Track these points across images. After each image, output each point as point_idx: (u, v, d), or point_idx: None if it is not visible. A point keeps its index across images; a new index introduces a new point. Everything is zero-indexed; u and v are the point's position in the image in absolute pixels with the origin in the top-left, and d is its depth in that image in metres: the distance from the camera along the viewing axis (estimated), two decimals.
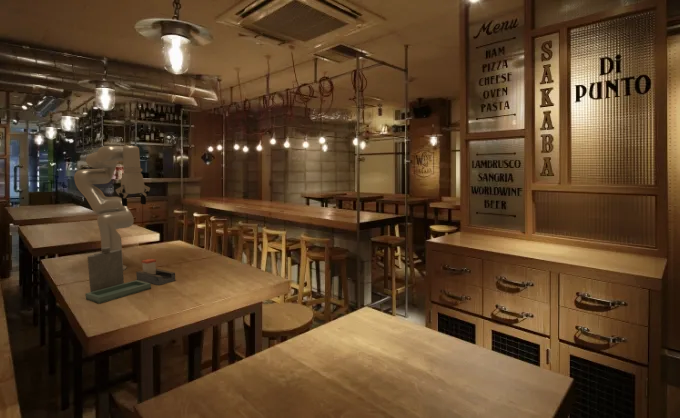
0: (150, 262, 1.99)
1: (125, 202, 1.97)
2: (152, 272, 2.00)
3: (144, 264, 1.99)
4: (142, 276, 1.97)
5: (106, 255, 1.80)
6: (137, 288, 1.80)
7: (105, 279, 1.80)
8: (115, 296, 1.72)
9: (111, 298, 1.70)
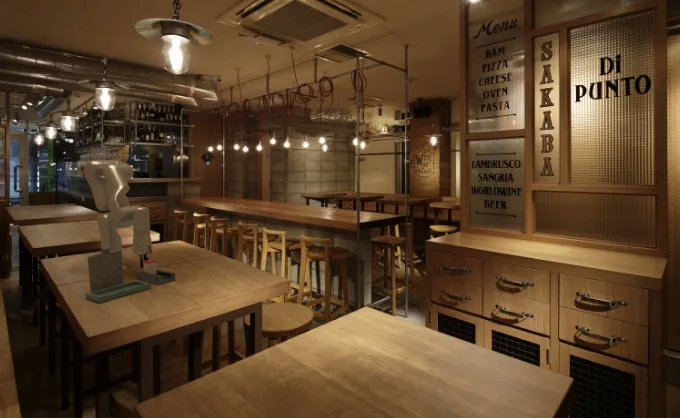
0: (151, 262, 1.99)
1: None
2: (153, 272, 2.00)
3: (145, 264, 1.99)
4: (142, 276, 1.97)
5: (106, 255, 1.80)
6: (137, 288, 1.80)
7: (105, 279, 1.80)
8: (115, 296, 1.72)
9: (111, 298, 1.70)
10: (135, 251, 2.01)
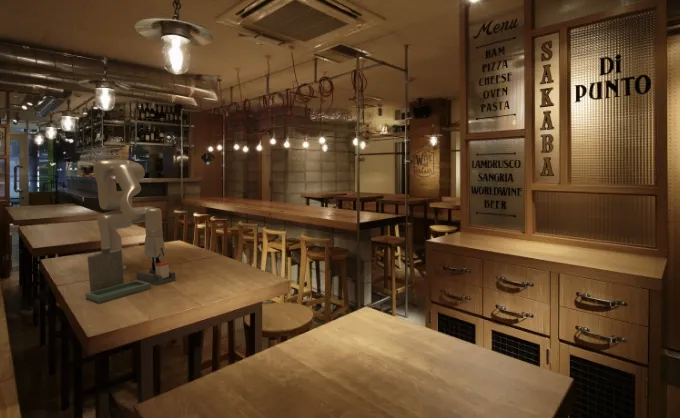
0: (163, 265, 1.93)
1: None
2: (165, 275, 1.95)
3: (157, 267, 1.93)
4: (142, 276, 1.97)
5: (106, 255, 1.80)
6: (137, 288, 1.80)
7: (105, 279, 1.80)
8: (115, 296, 1.72)
9: (111, 298, 1.70)
10: (147, 253, 1.95)
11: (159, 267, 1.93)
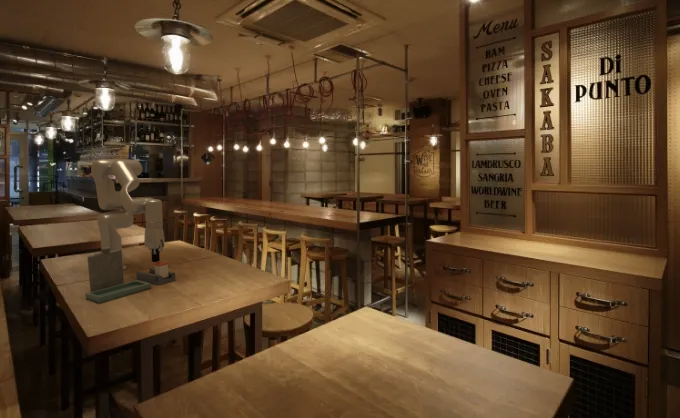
0: (163, 265, 1.94)
1: (158, 257, 1.98)
2: (165, 275, 1.95)
3: (156, 267, 1.94)
4: (142, 276, 1.97)
5: (106, 255, 1.80)
6: (137, 288, 1.80)
7: (105, 279, 1.80)
8: (115, 296, 1.72)
9: (111, 298, 1.70)
10: (147, 245, 1.95)
11: (158, 267, 1.93)
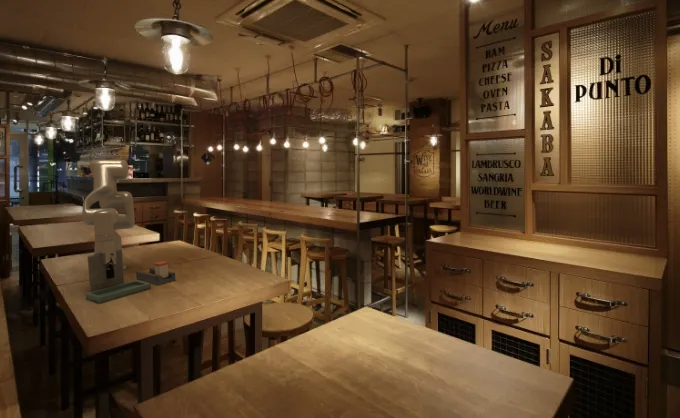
0: (163, 265, 1.94)
1: (113, 273, 1.82)
2: (165, 275, 1.95)
3: (156, 267, 1.94)
4: (142, 276, 1.97)
5: None
6: (137, 288, 1.80)
7: (105, 279, 1.80)
8: (115, 296, 1.72)
9: (111, 298, 1.70)
10: None
11: (158, 267, 1.93)
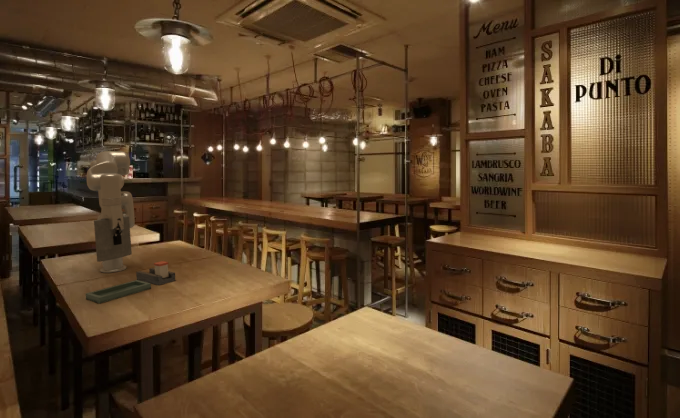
0: (163, 265, 1.94)
1: None
2: (165, 275, 1.95)
3: (156, 267, 1.94)
4: (142, 276, 1.97)
5: None
6: (137, 288, 1.80)
7: (112, 245, 1.73)
8: (115, 296, 1.72)
9: (111, 298, 1.70)
10: None
11: (158, 267, 1.93)
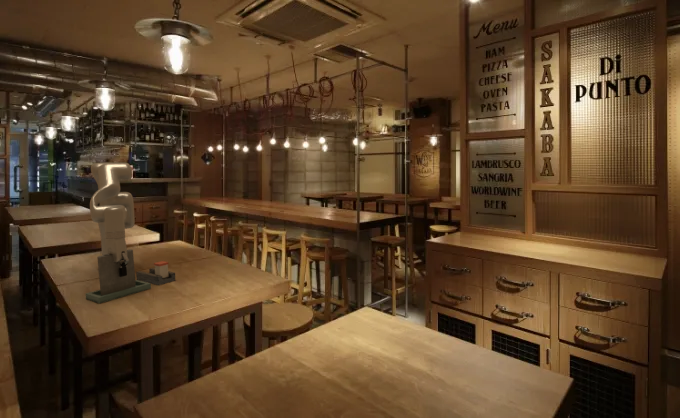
0: (163, 265, 1.94)
1: (125, 271, 1.76)
2: (165, 275, 1.95)
3: (156, 267, 1.94)
4: (142, 276, 1.97)
5: None
6: (137, 288, 1.80)
7: (115, 280, 1.75)
8: (115, 296, 1.72)
9: (111, 298, 1.70)
10: None
11: (158, 267, 1.93)
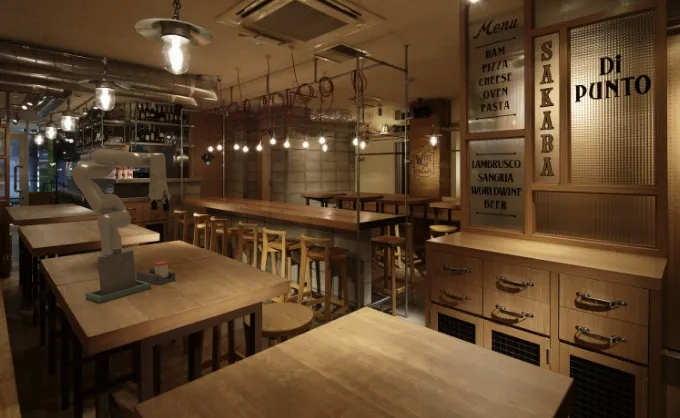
0: (163, 265, 1.94)
1: (168, 207, 2.06)
2: (165, 275, 1.95)
3: (156, 267, 1.94)
4: (142, 276, 1.97)
5: (117, 256, 1.75)
6: (137, 288, 1.80)
7: (115, 280, 1.75)
8: (115, 296, 1.72)
9: (111, 298, 1.70)
10: (152, 196, 2.05)
11: (158, 267, 1.93)
